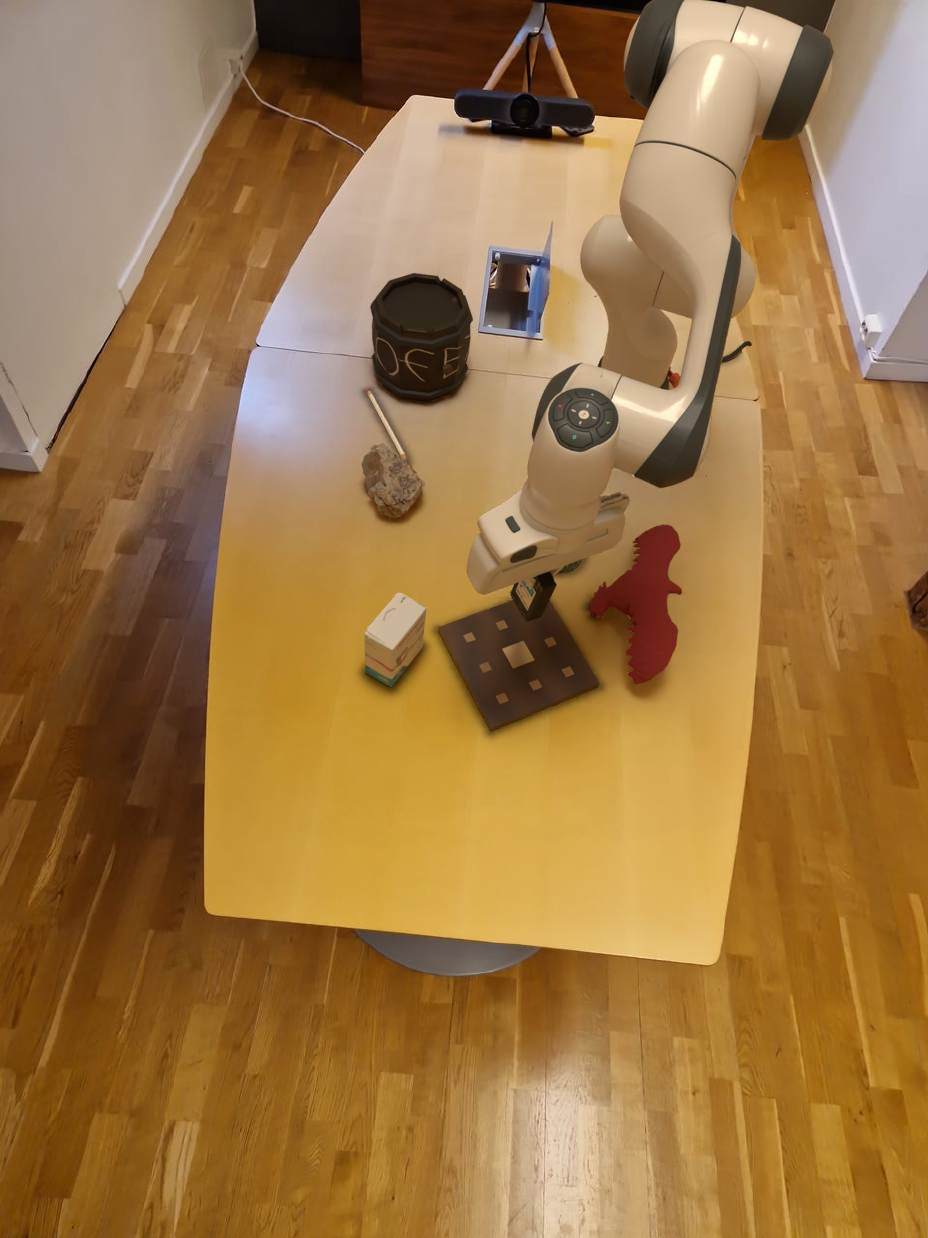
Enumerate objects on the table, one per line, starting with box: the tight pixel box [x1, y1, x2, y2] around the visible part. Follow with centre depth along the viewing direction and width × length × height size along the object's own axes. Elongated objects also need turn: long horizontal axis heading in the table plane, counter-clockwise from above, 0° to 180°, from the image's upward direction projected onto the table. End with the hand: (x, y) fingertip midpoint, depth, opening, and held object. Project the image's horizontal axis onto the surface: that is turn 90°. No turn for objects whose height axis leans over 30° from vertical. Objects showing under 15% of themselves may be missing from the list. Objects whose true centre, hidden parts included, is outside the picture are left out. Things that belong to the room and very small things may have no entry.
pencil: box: [365, 388, 407, 458], centre depth 145 cm, size 1×19×1 cm, turn 24°
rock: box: [361, 443, 426, 519], centre depth 133 cm, size 9×12×10 cm
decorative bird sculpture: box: [587, 524, 683, 685], centre depth 124 cm, size 28×9×15 cm
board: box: [437, 599, 600, 732], centre depth 122 cm, size 18×18×1 cm
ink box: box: [364, 591, 427, 688], centre depth 116 cm, size 9×5×12 cm, turn 148°
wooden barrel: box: [369, 272, 474, 404], centre depth 146 cm, size 18×18×16 cm
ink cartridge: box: [509, 571, 558, 622], centre depth 106 cm, size 5×2×8 cm, turn 25°
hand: (538, 581), depth 105 cm, fingers closed, pressing on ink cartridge
